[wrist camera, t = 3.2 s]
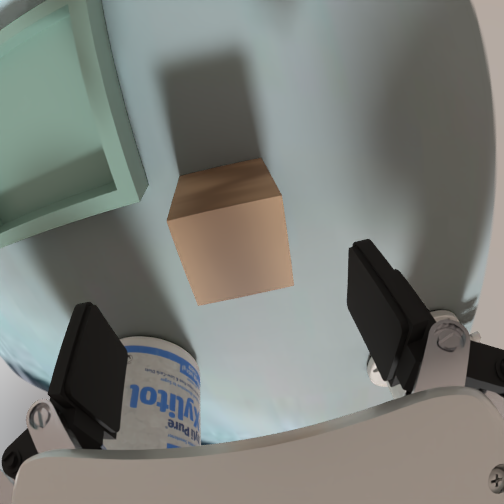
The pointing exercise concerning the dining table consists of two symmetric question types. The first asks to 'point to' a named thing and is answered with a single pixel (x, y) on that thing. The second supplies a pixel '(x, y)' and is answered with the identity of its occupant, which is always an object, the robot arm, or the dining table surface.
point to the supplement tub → (158, 397)
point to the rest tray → (62, 122)
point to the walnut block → (231, 232)
